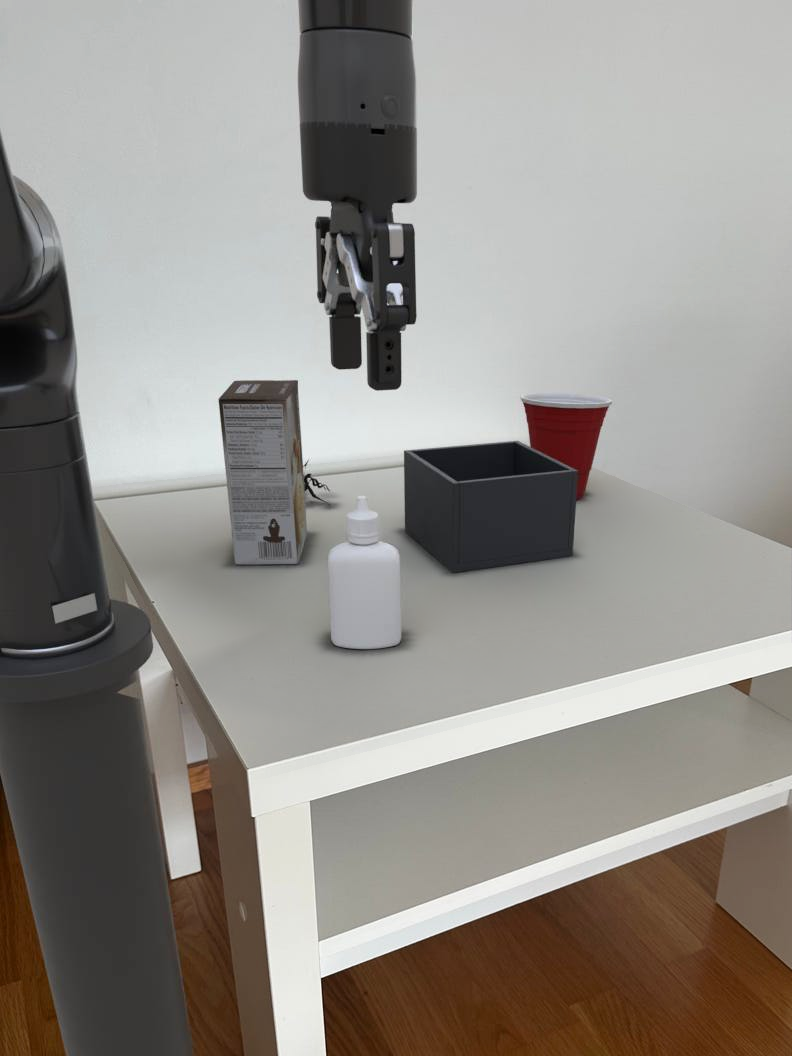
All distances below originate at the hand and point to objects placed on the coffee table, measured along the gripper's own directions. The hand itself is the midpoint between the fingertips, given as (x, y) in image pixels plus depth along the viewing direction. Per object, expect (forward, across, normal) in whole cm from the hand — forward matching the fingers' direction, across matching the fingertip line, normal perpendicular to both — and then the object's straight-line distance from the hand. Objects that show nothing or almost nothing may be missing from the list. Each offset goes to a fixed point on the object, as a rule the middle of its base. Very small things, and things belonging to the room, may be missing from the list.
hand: (364, 378), depth 67 cm
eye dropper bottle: (+21, 0, 0) cm, 21 cm away
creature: (+21, -39, +5) cm, 44 cm away
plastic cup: (+21, -31, +35) cm, 51 cm away
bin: (+21, -18, +19) cm, 33 cm away
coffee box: (+21, -24, -2) cm, 32 cm away
